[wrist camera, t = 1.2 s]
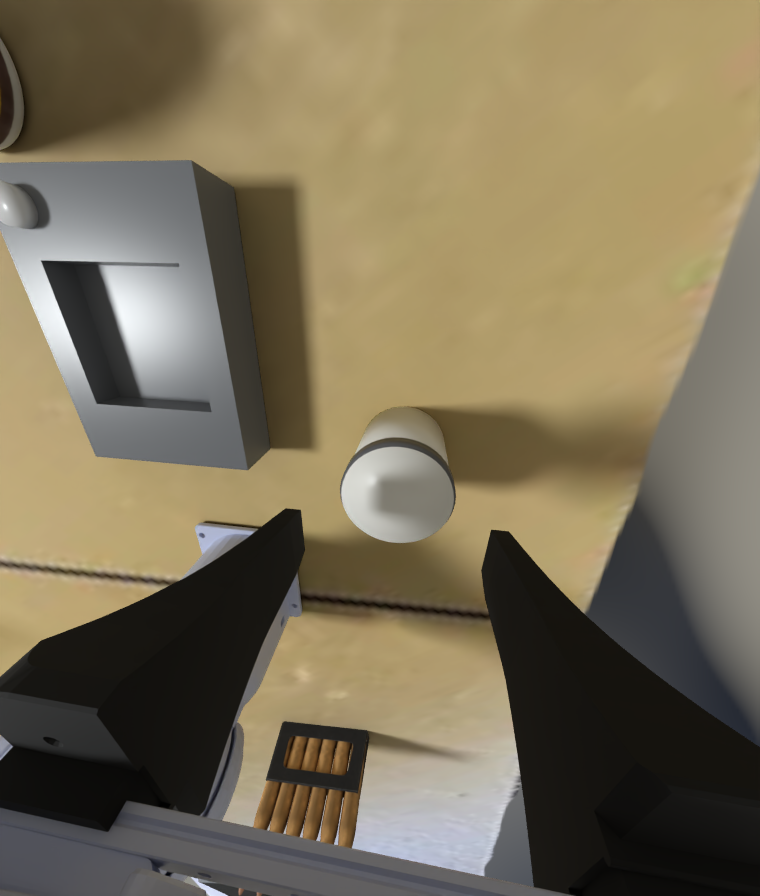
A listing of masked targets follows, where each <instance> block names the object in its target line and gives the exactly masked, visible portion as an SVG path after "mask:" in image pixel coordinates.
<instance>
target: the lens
mask: <svg viewBox="0 0 760 896" xmlns="http://www.w3.org/2000/svg"><path fill="white" fill-rule="evenodd" d="M340 494H341V500H342V504H343V506H344V509H345V511H346V513H347V515H348V516H349V518H350V519H351V520H352V522H353V523H354V524H355V525H356V526H357V527H358V528H359V529H361V530H362V531H363V532H365V533H367V534H368V535H370V536H372V537H374V538H377V539H380V540H383V541H387V542H393V543H409V542H415V541H419V540H422V539H424V538H427V537H429V536H431V535H432V534H434V533H435V532H437V531H438V530H439V529H440V528H441V527H442V526H443V525H444V524H445V523H446V522H447V520H448V519H449V517H450V516H451V514H452V511H453V509H454V505H455V499H456V493H455V486H454V480H453V476H452V473H451V470H450V468H449V465H448V459H447V453H446V448H445V442H444V437H443V433H442V431H441V429H440V427H439V425H438V424H437V422H436V421H435V420H434V419H433V418H432V417H431V416H430V415H428V414H427V413H425V412H423V411H421V410H419V409H416V408H412V407H394V408H390V409H387V410H384V411H383V412H381V413H379V414H378V415H377V416H375V417H374V418H373V419H372V420H371V422H370V423H369V424H368V426H367V428H366V430H365V432H364V435H363V437H362V439H361V441H360V444H359V446H358V448H357V450H356V453H355V455H354V456H353V457H352V459H351V460H350V462H349V464H348V466H347V468H346V470H345V472H344V475H343V477H342V481H341V485H340Z"/></svg>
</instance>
